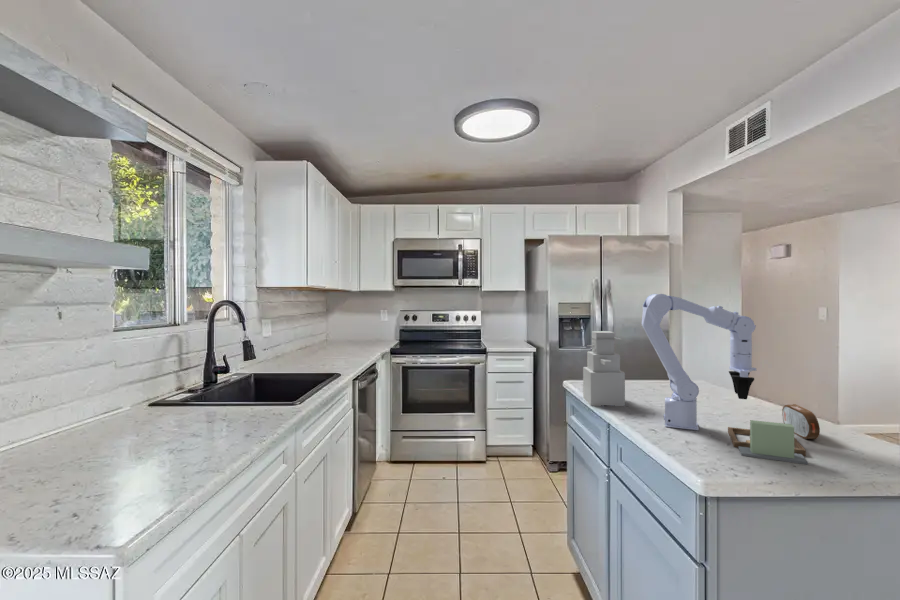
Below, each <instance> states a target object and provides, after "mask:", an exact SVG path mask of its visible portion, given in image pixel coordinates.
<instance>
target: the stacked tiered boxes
mask: <svg viewBox="0 0 900 600" xmlns="http://www.w3.org/2000/svg"><path fill="white" fill-rule="evenodd" d="M616 340H621V338H619V337H618V336H617V337H616V336H615V332H614V331H610V330H603V331H602V330H599V331H598V330H592V331H591V344H590V345H588V347H591V351H587V352H586V353H587V354H586V355H587V357H586V359H587V361H586V364H587V366H583V367H582V380H583V381H582V383H583V384H582V387H583V388H582V390H583V391H582V393H583V394H582V395H583V396H582V397H583V399H584V401H586V403H588V405H589V406H591V407H602V406H601V405H615V406H614V407H626V373H625V372H624V371H623V370H621V355H620V354H619V353H617V352H616V350H615V349H616V346H615V345H616V344H615V342H616Z"/></svg>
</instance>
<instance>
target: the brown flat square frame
mask: <svg viewBox="0 0 900 600" xmlns="http://www.w3.org/2000/svg"><path fill="white" fill-rule="evenodd" d="M727 434H728V437H729V438H730V441H731V444H732V446H733V448H737V449H739V448H738V446H741V447H749V448H750V443H748V442H746V441H739V440H738V439H737V436H736V435H746V436H750V428H749V429H747V428H741V427H731V426H728V427H727ZM794 453H797V454H802V455H803V456H804V457H807V456H806V455H807V451H806V449H805V448H804V447H803V445H802V444H801V443H800V442H799V441H798V439H797V438H796V437H795V436H794Z"/></svg>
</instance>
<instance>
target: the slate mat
mask: <svg viewBox="0 0 900 600" xmlns="http://www.w3.org/2000/svg"><path fill="white" fill-rule="evenodd" d="M737 449H738V451H739V453H740V455H741V456H743V457H751V458H758V459H766V460H770V461H771V460H773V461H781V462H788V463H795V464H803V465H809V461H808V460H807V459H806V458H805V456H803V455H802V454H797V453H794V458H788V457H780V456H772V455H764V454H757V453H752V452H751V450H750V448H749V447H741V446H738V448H737Z"/></svg>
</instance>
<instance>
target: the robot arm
mask: <svg viewBox="0 0 900 600" xmlns="http://www.w3.org/2000/svg"><path fill="white" fill-rule="evenodd" d="M678 310H680V311H682V312H687V313H690V314H693V315H696V316H700V317H702V318H703V319H704V321H705V322H706V323H707V324H710V325H713V326H716V327H719V328H722V329H724V330H728V331H729V332H730V333H729V335H730V336H729V346H730V348H729V357H730V358H729V371H728V373H729V375H730V377H731V380H732V384H733V390H734V393H735V394H736V395H737V398H738V399H740V400H747V399H748V397H749V392H750V388H751V386H752V384H753V382H754V381H755V377H751V376H750V372H751V373H752V372H753V371H754V372H756V371H757V368H756V367H752V366H753V362H752V361H753V360H752V359H753V335H752V334H753V332H754V331H755V330H756V327H757V325H755V322H754V320H753V319H752V318H751V317H750V316H747V315H740V314H739V312H737V311H730V310H728V309H724V307H723V306H721V305H717V306H716V305H712V306H710V307H706V306H703V305H700V304H697V303H694V302H693V301H690V300H686V299H684V298H681V297H678V296H672V295H667V294H664V293H653V294H652V293H651V294H649V295H648V296H647V297H646V298H645V300H644V302H643V304H642V317H641V327H642V328H643V330H644V332H645V334H646V336H647V338H648V340H649V342H650V344H651V345H652V348H653V349H654V350H655V353H656V354H657V356H658V357H657V358H659V360H660V362H661V364H662V366H663V368H664V369H665V372H666V374H667V377H668V379H669V388H670V390H671V391H672V394H671V397H664V413H663V420H664V427H666V428H674V429H681V430H682V429H684V430H691V431H693V430H694V431H699V429H700V428H699V423H698V421H697V415H698V414H697V412H698V411H697V409H698V407H697V405H698V403H697V402H698V401H697V397H698V396H699V394H700V393H699V392H700V390H699V386H698V385H697V383H696V382H694V381H692V380H691V378H690V377H689V375H688V373H687V372H686V371H685V369H684V368H683V367H682V364H681V363H680V361H679V359H678V357H677V355H676V353H675V351H674V349H673V348H672V346H671V343H670V342H669V340H668V339H667V337H666V335H665V333H664V331H663V329H662V327H661V323H662V321H663V318H664V317H665V316H666V315H667V313H668V312H670V311H678ZM749 376H750V377H749Z"/></svg>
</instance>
